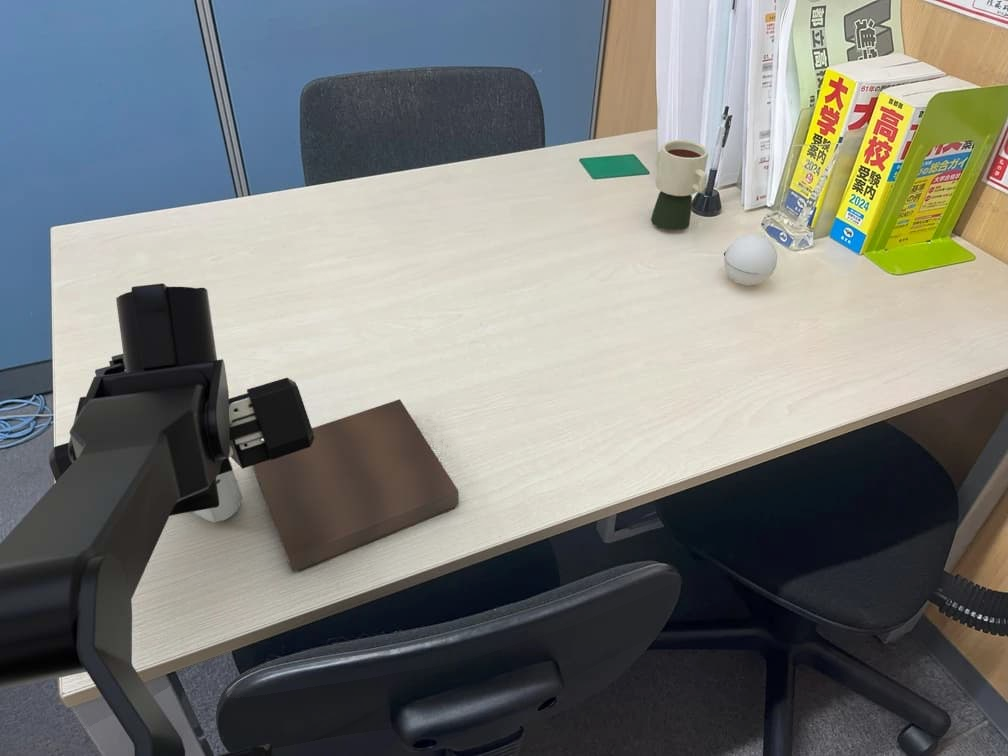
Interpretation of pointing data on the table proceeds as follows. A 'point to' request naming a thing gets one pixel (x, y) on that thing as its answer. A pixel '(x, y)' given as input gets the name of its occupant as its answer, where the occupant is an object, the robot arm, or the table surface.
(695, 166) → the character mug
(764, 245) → the seamed sphere
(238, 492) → the photo printer
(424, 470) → the walnut stand
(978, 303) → the table surface
